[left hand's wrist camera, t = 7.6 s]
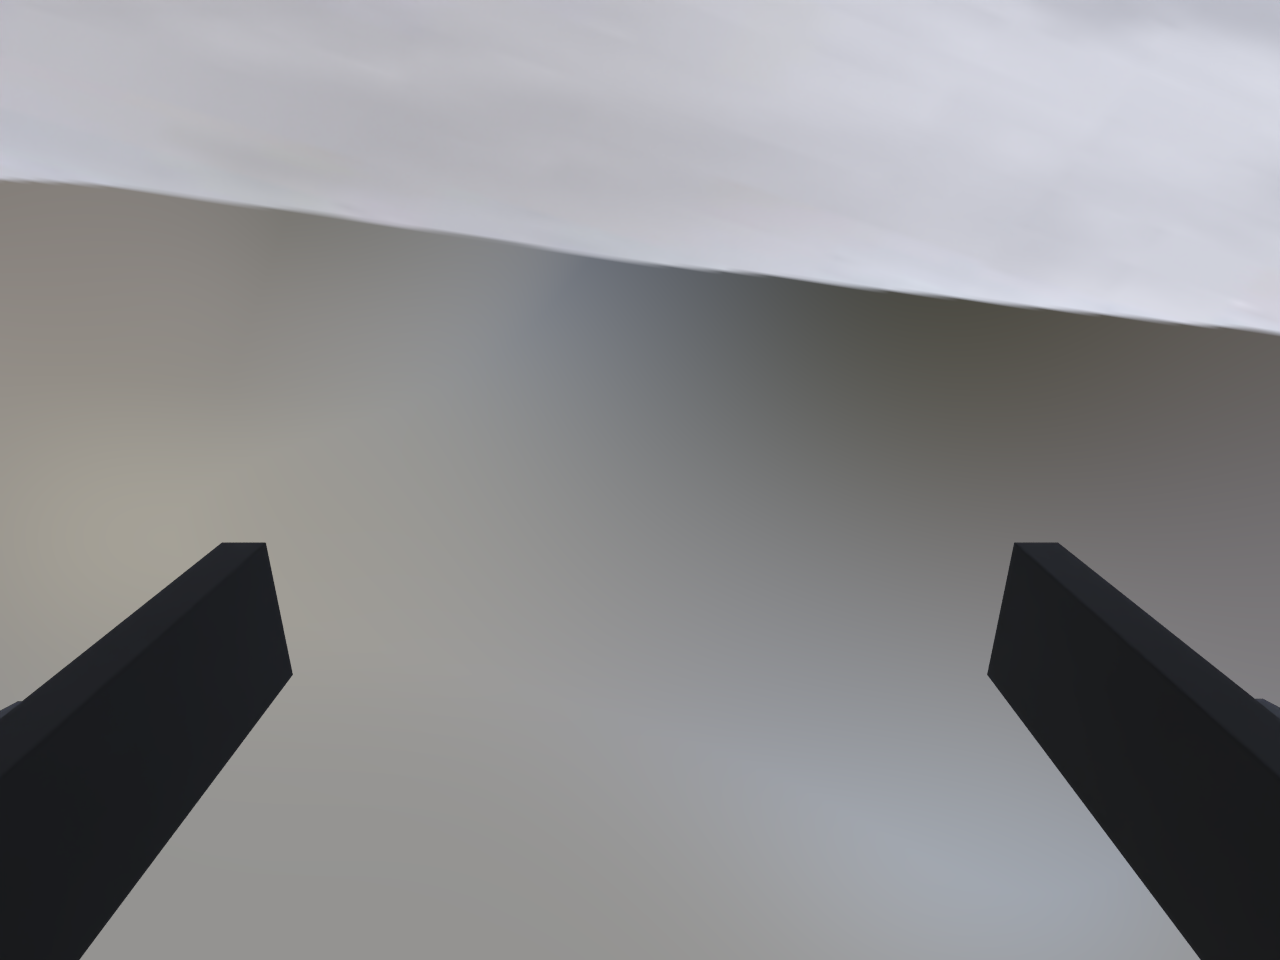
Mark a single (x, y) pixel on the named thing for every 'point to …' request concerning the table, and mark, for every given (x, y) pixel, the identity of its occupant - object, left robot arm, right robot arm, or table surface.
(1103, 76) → the table surface
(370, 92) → the table surface
